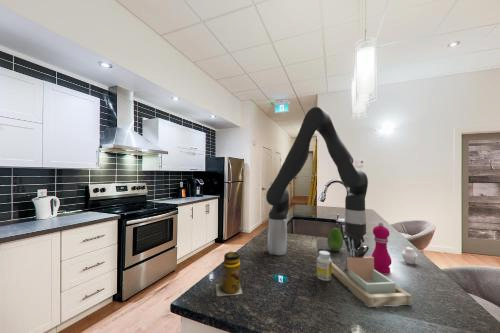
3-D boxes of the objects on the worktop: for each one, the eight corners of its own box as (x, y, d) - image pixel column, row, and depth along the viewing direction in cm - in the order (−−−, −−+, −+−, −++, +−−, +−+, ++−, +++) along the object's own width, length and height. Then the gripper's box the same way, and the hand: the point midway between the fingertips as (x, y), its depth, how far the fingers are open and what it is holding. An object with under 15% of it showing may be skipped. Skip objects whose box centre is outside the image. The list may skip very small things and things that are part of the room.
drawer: (366, 299, 66) (366, 271, 66) (347, 281, 77) (347, 257, 77) (395, 298, 67) (395, 270, 68) (372, 280, 78) (372, 256, 78)
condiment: (242, 294, 69) (243, 257, 69) (217, 297, 67) (217, 259, 67) (238, 282, 76) (239, 249, 76) (215, 285, 74) (216, 251, 74)
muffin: (402, 263, 94) (402, 248, 94) (400, 258, 99) (400, 244, 99) (420, 266, 91) (419, 250, 91) (416, 261, 96) (416, 246, 97)
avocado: (345, 253, 105) (345, 229, 105) (330, 253, 105) (330, 229, 106) (339, 247, 113) (339, 225, 113) (324, 247, 113) (324, 225, 114)
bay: (368, 307, 62) (368, 297, 62) (328, 269, 87) (328, 262, 87) (411, 305, 64) (411, 295, 64) (359, 268, 89) (359, 260, 89)
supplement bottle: (320, 281, 77) (320, 255, 78) (314, 274, 83) (314, 250, 83) (334, 280, 78) (334, 255, 78) (327, 274, 83) (327, 249, 84)
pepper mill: (388, 267, 89) (388, 221, 90) (394, 275, 83) (393, 225, 83) (369, 265, 92) (369, 219, 92) (373, 272, 85) (373, 223, 86)
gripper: (337, 217, 88) (337, 259, 87) (356, 225, 74) (356, 274, 74) (353, 217, 88) (353, 258, 88) (376, 225, 75) (376, 273, 75)
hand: (355, 265), depth 81 cm, fingers closed
